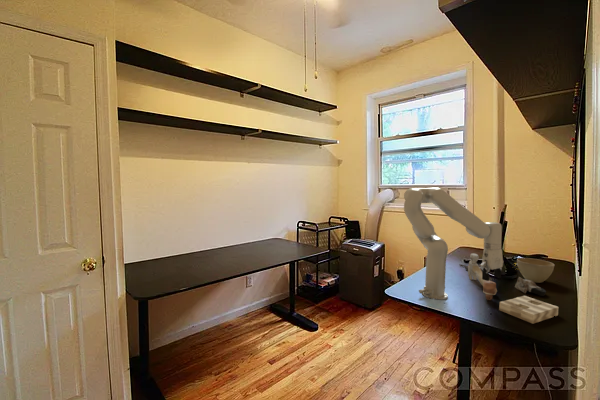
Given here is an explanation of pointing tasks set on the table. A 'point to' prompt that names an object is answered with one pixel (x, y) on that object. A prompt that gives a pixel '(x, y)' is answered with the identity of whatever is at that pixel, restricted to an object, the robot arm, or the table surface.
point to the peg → (489, 289)
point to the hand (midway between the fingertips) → (491, 278)
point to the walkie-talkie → (467, 267)
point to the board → (528, 309)
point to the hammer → (475, 269)
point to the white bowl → (535, 269)
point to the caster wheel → (529, 287)
